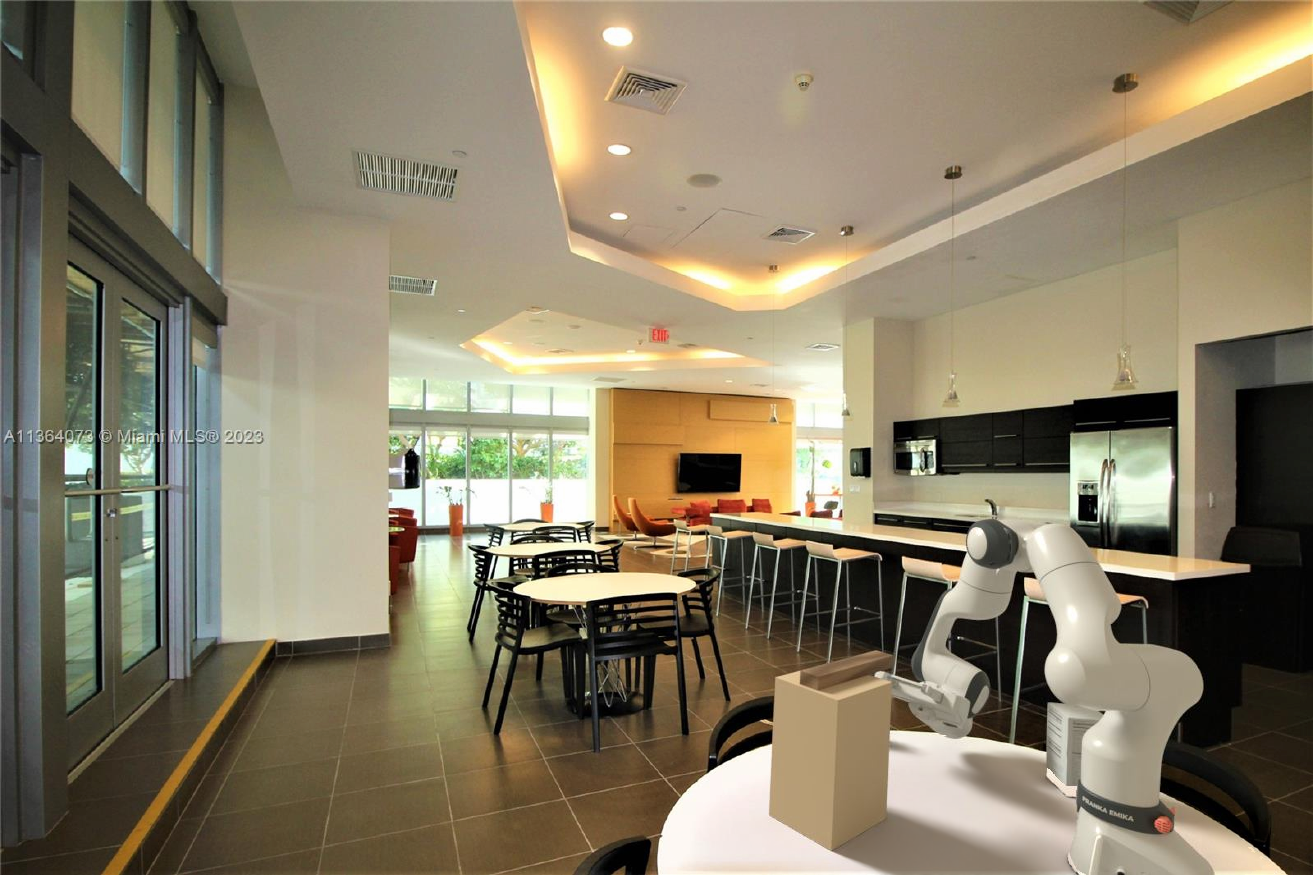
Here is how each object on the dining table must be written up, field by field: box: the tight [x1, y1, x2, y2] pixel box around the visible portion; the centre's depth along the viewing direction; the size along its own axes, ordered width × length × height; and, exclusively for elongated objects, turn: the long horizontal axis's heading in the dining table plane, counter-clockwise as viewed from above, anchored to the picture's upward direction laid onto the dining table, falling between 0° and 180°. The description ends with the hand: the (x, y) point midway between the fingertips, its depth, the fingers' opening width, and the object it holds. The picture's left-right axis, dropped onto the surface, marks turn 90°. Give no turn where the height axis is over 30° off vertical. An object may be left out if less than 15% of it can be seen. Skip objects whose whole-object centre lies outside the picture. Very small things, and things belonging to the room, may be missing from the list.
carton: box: [768, 664, 892, 852], centre depth 126 cm, size 14×18×26 cm
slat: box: [799, 650, 894, 691], centre depth 130 cm, size 4×26×2 cm, turn 130°
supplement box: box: [1045, 702, 1104, 786], centre depth 143 cm, size 10×9×17 cm
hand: (904, 681), depth 143 cm, fingers open, 8 cm apart
